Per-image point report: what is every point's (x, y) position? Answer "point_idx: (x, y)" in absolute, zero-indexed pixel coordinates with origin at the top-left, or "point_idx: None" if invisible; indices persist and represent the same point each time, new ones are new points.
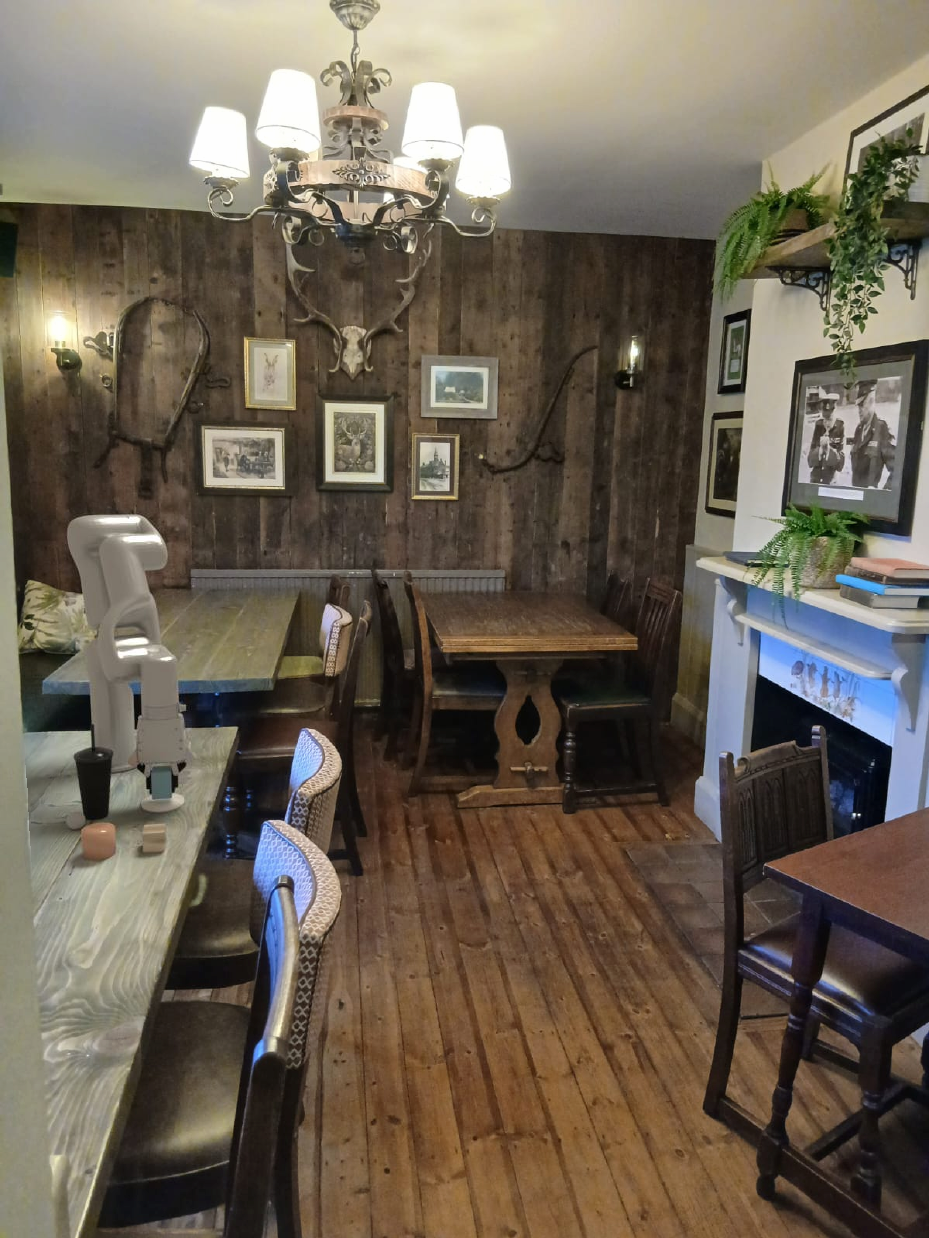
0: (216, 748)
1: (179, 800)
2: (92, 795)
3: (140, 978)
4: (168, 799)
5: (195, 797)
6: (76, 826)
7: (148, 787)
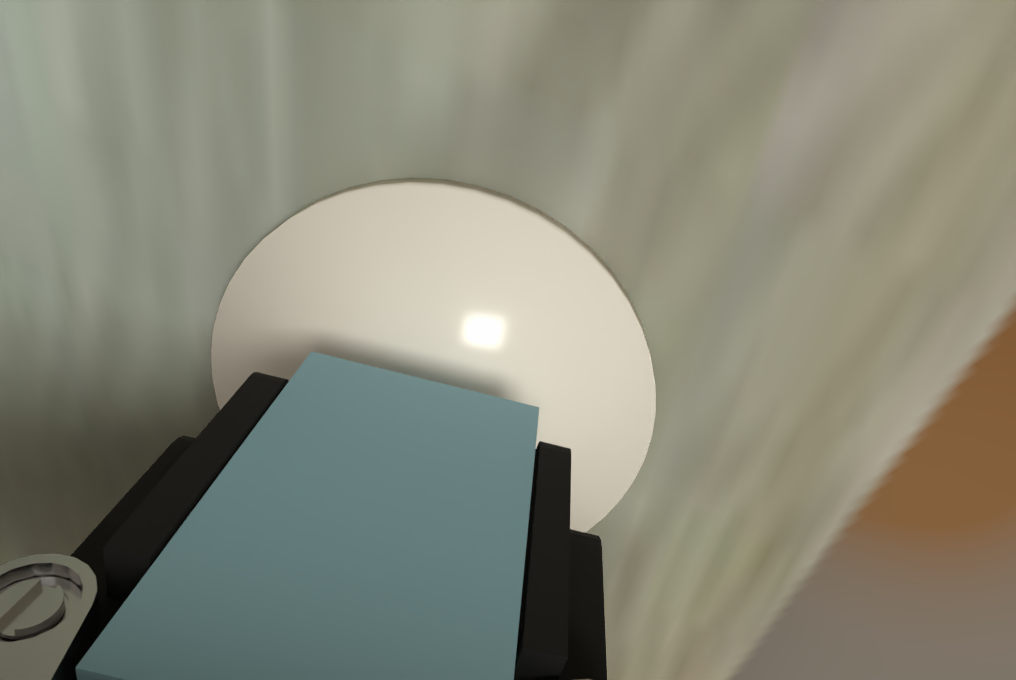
0: None
1: (591, 454)
2: None
3: None
4: (489, 389)
5: (789, 369)
6: None
7: None
